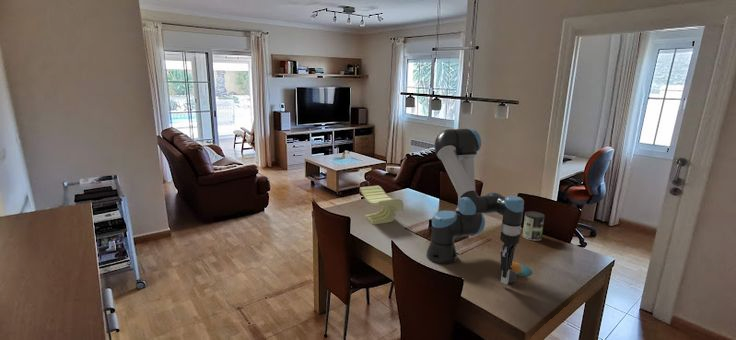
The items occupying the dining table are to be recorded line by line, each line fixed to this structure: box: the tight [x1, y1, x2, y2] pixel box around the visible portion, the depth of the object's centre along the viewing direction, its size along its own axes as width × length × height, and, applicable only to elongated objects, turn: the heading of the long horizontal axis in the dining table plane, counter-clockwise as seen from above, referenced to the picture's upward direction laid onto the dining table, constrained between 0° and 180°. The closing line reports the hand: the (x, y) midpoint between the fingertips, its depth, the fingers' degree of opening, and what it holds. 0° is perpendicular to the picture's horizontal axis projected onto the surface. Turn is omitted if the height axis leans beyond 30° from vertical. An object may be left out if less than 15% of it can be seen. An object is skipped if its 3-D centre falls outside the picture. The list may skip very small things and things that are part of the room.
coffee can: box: [522, 210, 546, 242], centre depth 210 cm, size 10×10×14 cm
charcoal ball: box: [508, 270, 518, 284], centre depth 164 cm, size 6×6×6 cm
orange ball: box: [509, 261, 522, 274], centre depth 171 cm, size 6×6×6 cm
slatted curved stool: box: [359, 185, 404, 225], centre depth 232 cm, size 30×16×18 cm, turn 23°
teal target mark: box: [516, 263, 533, 277], centre depth 175 cm, size 12×12×1 cm
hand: (504, 282), depth 160 cm, fingers closed
